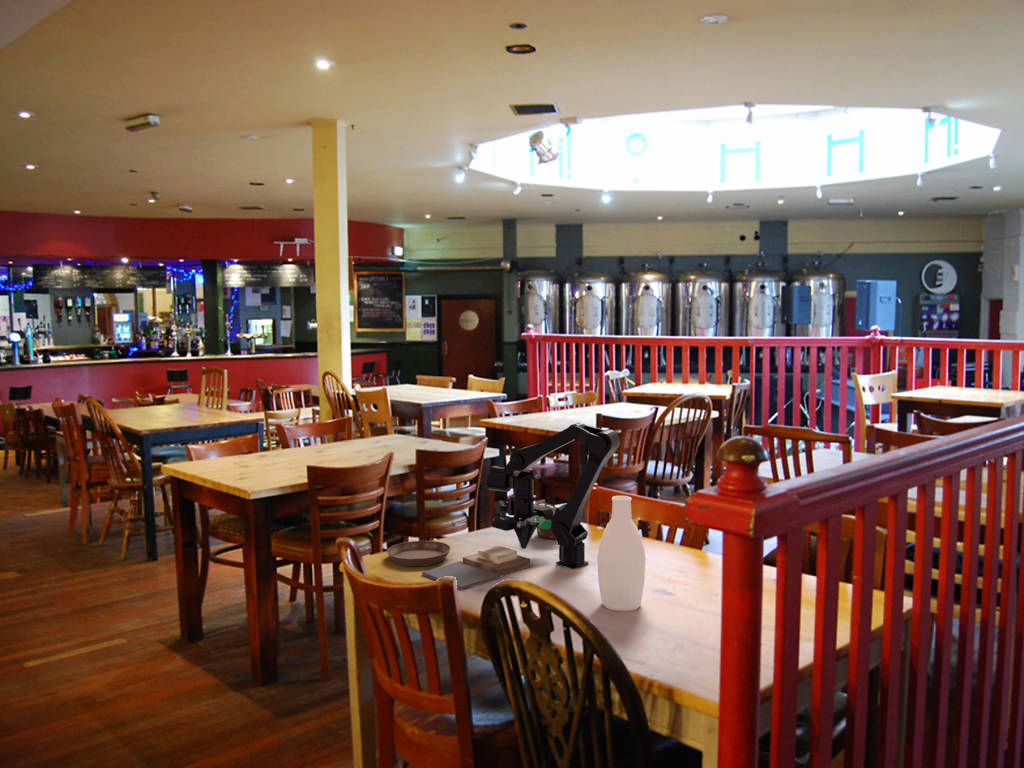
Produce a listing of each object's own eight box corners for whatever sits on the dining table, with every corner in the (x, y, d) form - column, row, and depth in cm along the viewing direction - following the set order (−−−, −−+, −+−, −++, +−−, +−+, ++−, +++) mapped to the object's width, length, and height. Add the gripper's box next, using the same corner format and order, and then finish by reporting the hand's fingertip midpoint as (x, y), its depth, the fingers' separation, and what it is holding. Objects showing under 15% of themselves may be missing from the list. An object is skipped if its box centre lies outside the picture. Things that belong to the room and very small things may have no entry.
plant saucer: (378, 555, 225) (378, 545, 225) (436, 546, 234) (436, 536, 233) (399, 573, 210) (399, 562, 210) (460, 563, 218) (460, 552, 218)
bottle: (613, 592, 193) (613, 490, 191) (654, 603, 186) (655, 496, 184) (588, 606, 184) (587, 498, 182) (629, 617, 177) (630, 505, 175)
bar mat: (500, 577, 205) (500, 574, 205) (461, 589, 196) (461, 586, 196) (460, 563, 216) (460, 560, 216) (422, 574, 208) (422, 571, 207)
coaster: (517, 558, 214) (517, 550, 214) (498, 563, 210) (498, 556, 209) (497, 551, 220) (497, 544, 220) (478, 557, 215) (478, 550, 215)
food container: (526, 533, 246) (526, 501, 245) (544, 530, 249) (543, 499, 248) (544, 543, 235) (544, 510, 234) (563, 540, 238) (562, 507, 237)
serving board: (530, 566, 214) (530, 558, 214) (497, 576, 206) (497, 569, 205) (495, 555, 224) (495, 548, 224) (462, 564, 216) (462, 557, 216)
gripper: (526, 483, 233) (527, 535, 234) (478, 494, 220) (479, 549, 221) (554, 489, 224) (554, 543, 226) (506, 500, 212) (506, 558, 213)
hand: (523, 548), depth 222 cm, fingers closed
